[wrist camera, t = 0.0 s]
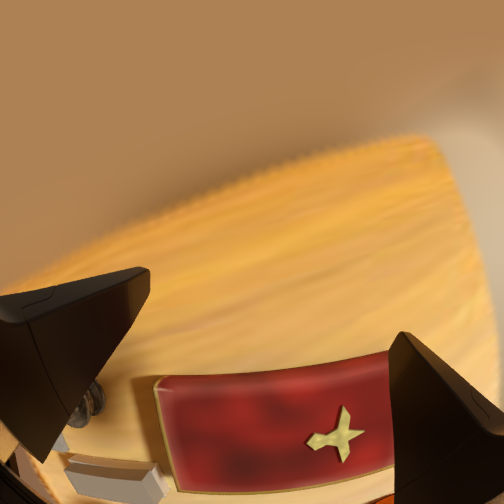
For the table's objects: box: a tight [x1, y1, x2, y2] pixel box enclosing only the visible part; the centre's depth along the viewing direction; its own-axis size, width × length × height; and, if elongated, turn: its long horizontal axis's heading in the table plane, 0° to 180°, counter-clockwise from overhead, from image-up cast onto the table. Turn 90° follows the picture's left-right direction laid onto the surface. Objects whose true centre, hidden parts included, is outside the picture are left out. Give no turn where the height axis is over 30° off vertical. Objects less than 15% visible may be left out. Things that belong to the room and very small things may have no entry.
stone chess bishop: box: [67, 379, 105, 428], centre depth 16 cm, size 6×6×12 cm
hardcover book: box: [153, 350, 394, 495], centre depth 20 cm, size 12×21×4 cm, turn 96°
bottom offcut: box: [68, 454, 170, 498], centre depth 19 cm, size 4×12×2 cm, turn 103°
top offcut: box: [64, 463, 163, 504], centre depth 17 cm, size 4×11×2 cm, turn 106°
